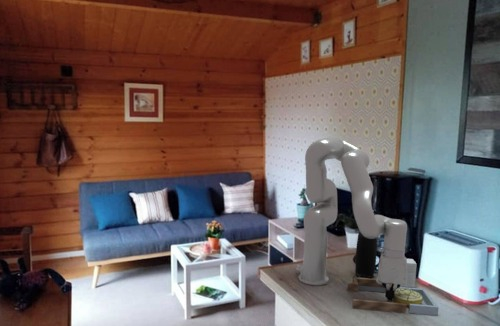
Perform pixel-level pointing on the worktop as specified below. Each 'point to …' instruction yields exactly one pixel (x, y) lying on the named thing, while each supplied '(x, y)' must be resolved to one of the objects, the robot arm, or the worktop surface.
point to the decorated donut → (407, 297)
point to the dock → (423, 309)
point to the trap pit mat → (371, 289)
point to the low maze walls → (373, 304)
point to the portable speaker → (365, 256)
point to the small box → (411, 273)
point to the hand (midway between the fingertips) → (389, 299)
